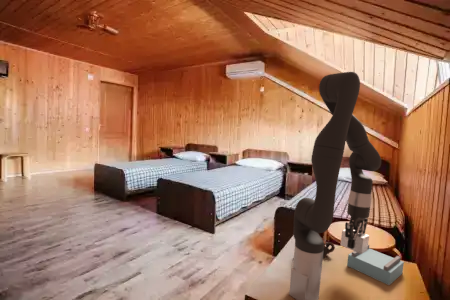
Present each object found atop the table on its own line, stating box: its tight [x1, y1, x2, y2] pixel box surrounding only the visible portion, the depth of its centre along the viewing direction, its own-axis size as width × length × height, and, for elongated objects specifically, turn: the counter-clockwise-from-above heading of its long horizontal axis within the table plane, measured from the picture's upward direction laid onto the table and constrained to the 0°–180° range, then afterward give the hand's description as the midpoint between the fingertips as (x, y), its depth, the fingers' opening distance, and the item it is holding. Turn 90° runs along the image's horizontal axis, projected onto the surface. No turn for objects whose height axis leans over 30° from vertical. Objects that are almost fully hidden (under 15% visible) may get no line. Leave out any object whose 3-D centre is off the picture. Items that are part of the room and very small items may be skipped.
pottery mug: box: [321, 237, 336, 258], centre depth 120 cm, size 12×10×8 cm
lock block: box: [340, 229, 370, 254], centre depth 100 cm, size 5×8×6 cm, turn 39°
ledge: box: [346, 244, 405, 286], centre depth 108 cm, size 14×16×6 cm
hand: (353, 246), depth 100 cm, fingers closed on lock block, 5 cm apart
